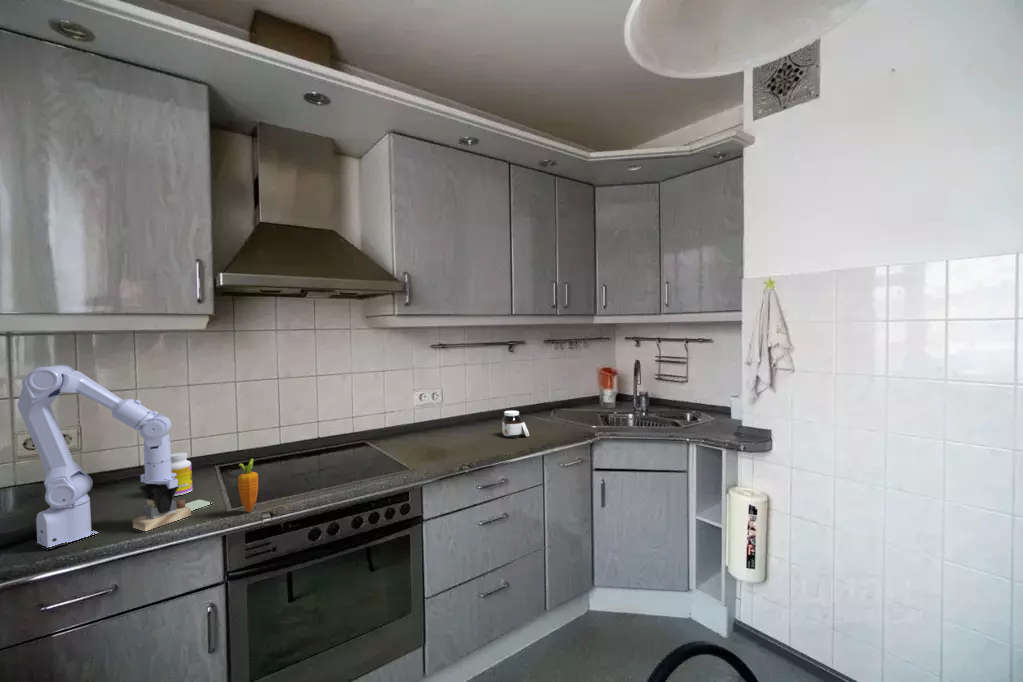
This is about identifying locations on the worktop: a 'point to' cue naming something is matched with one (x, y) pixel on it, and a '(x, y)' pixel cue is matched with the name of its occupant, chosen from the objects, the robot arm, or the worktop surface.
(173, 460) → the supplement bottle
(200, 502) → the sage mat
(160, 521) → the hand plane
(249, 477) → the carrot
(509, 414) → the spread jar
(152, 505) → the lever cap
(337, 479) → the worktop surface
